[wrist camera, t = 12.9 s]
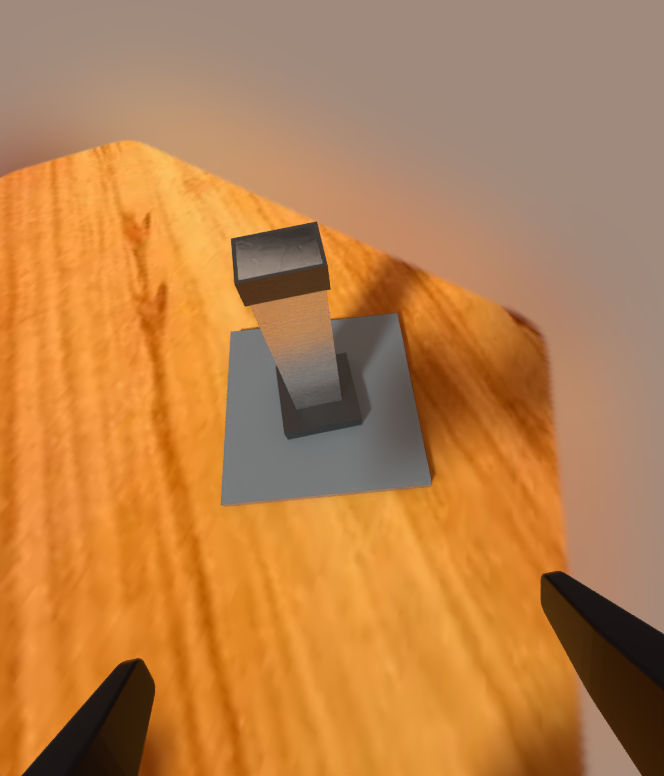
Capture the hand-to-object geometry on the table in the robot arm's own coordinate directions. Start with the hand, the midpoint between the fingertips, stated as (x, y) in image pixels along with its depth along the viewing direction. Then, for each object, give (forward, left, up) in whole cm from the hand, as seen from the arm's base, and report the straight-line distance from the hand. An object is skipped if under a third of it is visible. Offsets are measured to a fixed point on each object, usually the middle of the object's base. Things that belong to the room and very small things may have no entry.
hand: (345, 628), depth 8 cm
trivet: (+12, +1, -14) cm, 18 cm away
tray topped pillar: (+12, +1, -13) cm, 17 cm away
